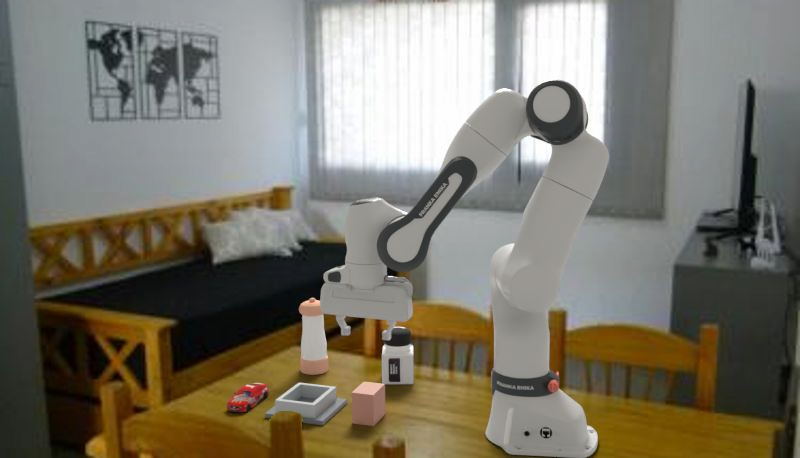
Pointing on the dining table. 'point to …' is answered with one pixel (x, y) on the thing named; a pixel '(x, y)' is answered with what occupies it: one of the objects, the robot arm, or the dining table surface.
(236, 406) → the race car
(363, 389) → the pink upright box
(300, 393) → the square socket base
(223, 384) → the dining table surface
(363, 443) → the dining table surface
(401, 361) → the container
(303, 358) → the salt shaker
